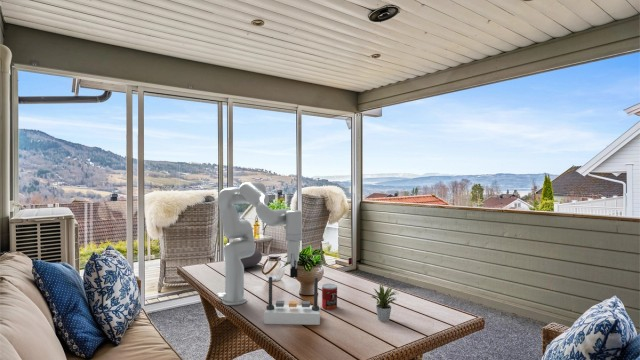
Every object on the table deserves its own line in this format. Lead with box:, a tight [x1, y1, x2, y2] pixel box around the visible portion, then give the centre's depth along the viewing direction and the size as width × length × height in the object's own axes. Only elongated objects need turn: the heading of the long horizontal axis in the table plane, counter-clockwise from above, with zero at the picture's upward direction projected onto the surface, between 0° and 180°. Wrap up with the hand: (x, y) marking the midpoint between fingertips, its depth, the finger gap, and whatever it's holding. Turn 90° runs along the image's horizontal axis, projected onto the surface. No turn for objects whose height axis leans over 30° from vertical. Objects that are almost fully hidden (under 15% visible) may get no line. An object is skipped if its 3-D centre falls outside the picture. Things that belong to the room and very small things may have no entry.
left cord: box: [265, 276, 275, 310], centre depth 169 cm, size 4×4×15 cm
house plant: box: [370, 284, 401, 323], centre depth 169 cm, size 14×14×16 cm
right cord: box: [311, 277, 321, 311], centre depth 169 cm, size 4×4×15 cm
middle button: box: [288, 300, 298, 307], centre depth 169 cm, size 4×4×2 cm
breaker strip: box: [263, 304, 321, 326], centre depth 169 cm, size 25×10×5 cm, turn 89°
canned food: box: [321, 283, 338, 311], centre depth 186 cm, size 8×8×11 cm
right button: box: [301, 300, 311, 307], centre depth 169 cm, size 4×4×2 cm
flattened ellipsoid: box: [241, 247, 263, 269], centre depth 265 cm, size 25×25×15 cm
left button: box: [275, 300, 285, 307], centre depth 169 cm, size 4×4×2 cm
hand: (293, 276), depth 169 cm, fingers closed
